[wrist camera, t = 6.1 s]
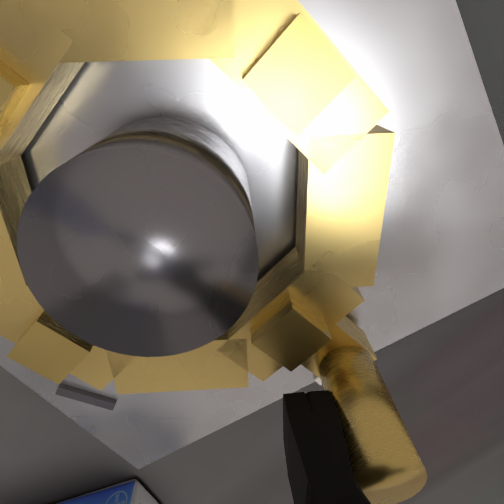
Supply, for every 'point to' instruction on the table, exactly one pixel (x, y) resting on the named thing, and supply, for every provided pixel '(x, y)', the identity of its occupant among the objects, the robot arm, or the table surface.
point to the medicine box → (116, 495)
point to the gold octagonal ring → (307, 213)
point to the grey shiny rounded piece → (415, 211)
